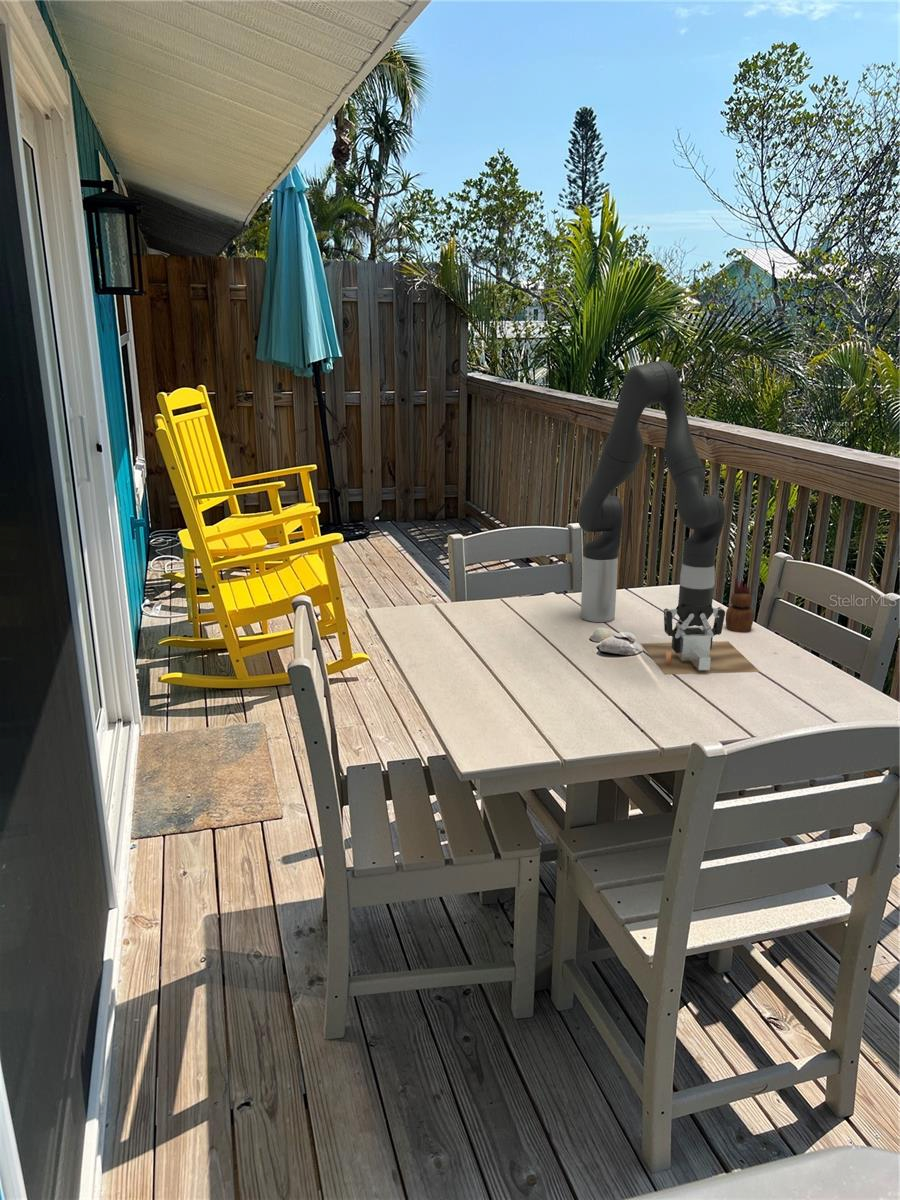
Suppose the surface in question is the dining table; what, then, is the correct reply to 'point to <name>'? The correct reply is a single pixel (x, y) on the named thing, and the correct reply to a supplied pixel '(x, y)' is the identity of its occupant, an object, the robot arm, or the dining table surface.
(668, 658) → the dowel
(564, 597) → the dining table surface
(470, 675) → the dining table surface
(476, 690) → the dining table surface
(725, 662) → the board
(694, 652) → the square container with handle
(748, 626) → the wooden figurine
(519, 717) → the dining table surface
